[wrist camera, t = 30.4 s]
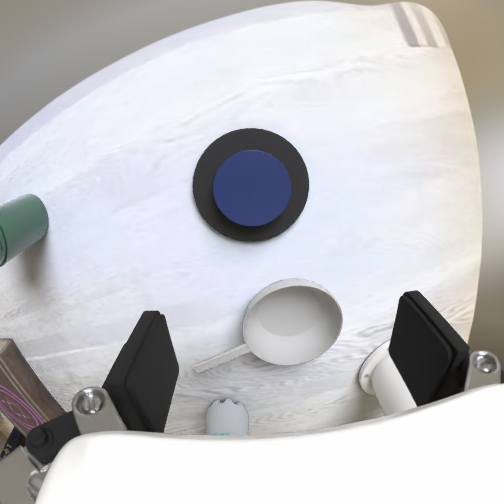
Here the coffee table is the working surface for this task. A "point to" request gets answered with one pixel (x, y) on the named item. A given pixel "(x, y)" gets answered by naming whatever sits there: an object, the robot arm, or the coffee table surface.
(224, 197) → the lid
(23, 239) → the jar
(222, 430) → the bottle
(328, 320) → the saucepan
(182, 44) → the coffee table surface
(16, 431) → the wine bottle
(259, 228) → the coaster
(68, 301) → the coffee table surface
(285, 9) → the coffee table surface
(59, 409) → the book
